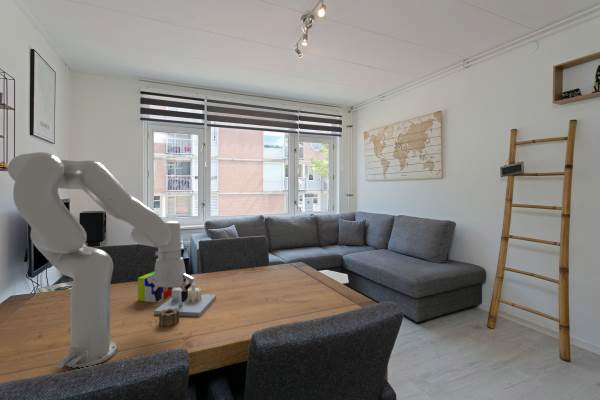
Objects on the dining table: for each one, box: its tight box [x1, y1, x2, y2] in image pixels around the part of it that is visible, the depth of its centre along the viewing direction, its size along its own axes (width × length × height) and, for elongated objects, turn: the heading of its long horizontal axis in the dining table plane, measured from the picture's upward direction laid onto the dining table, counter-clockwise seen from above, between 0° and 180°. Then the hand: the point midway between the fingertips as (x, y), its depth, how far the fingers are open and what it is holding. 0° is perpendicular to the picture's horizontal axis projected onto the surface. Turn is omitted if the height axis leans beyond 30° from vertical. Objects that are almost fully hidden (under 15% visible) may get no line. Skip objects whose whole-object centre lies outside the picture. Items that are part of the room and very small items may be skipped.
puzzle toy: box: [137, 271, 174, 303], centre depth 133 cm, size 10×10×10 cm
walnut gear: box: [158, 308, 180, 328], centre depth 108 cm, size 6×6×4 cm
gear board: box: [153, 283, 217, 317], centre depth 124 cm, size 19×18×8 cm
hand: (171, 300), depth 109 cm, fingers open, 9 cm apart
